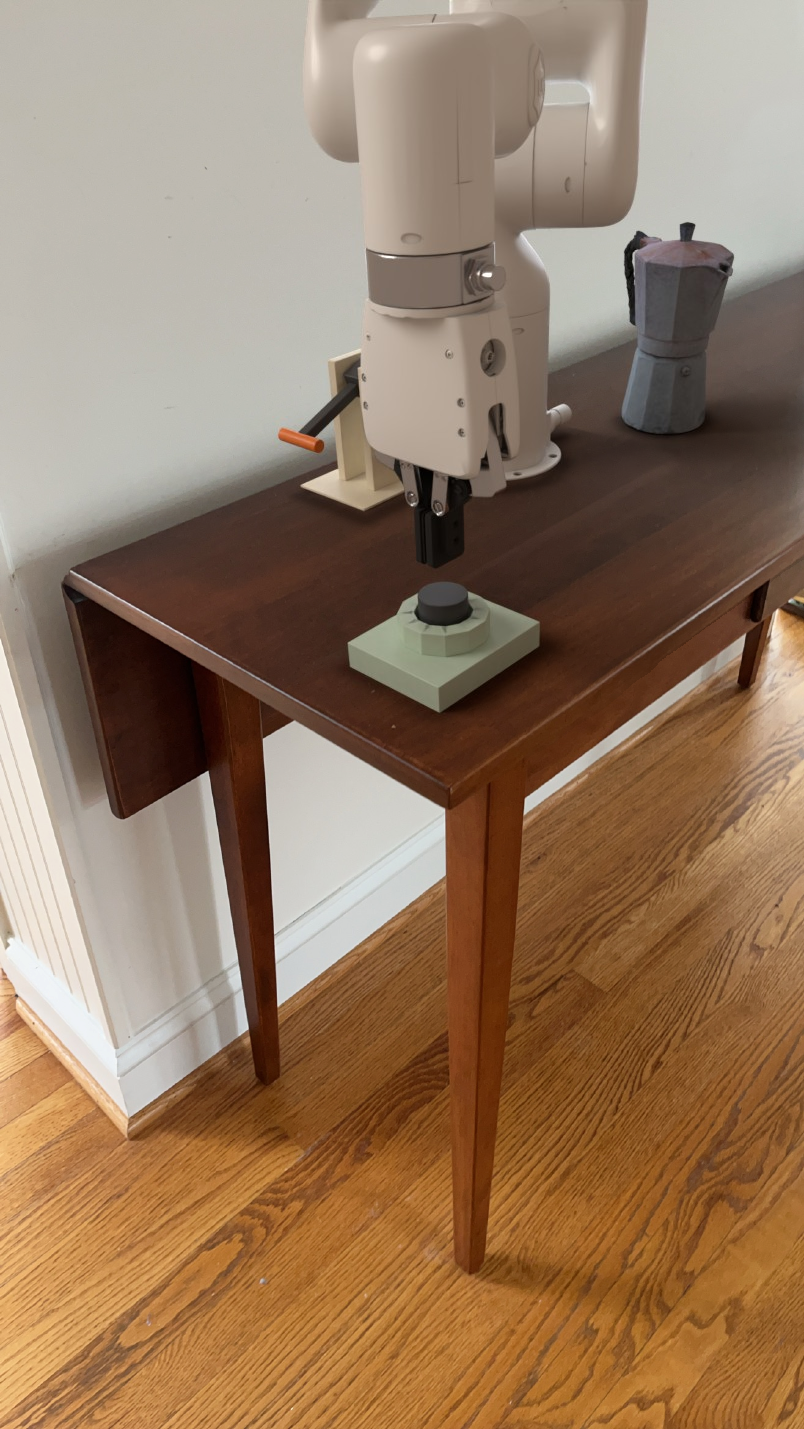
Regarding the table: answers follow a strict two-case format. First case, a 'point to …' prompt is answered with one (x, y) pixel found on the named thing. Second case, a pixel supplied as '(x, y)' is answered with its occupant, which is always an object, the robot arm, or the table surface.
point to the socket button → (443, 604)
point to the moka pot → (672, 327)
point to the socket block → (443, 651)
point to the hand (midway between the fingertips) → (440, 558)
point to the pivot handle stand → (354, 452)
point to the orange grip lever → (324, 414)
